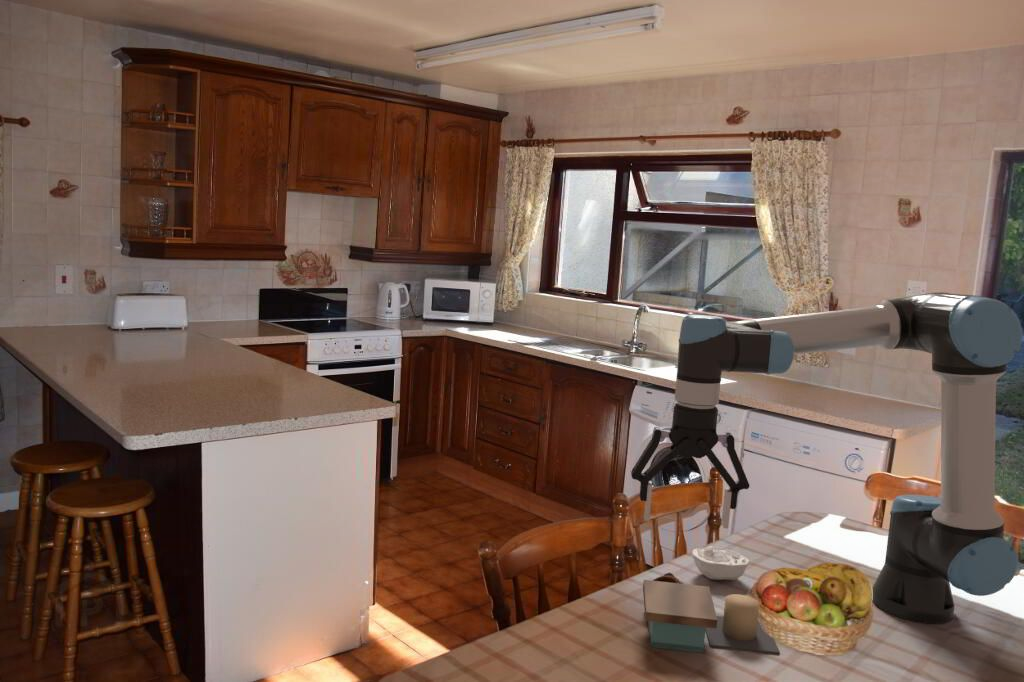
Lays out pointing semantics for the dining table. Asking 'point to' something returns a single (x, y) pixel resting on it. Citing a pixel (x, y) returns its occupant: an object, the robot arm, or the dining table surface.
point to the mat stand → (741, 627)
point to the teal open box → (676, 636)
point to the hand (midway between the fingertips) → (685, 522)
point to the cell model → (720, 563)
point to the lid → (679, 604)
